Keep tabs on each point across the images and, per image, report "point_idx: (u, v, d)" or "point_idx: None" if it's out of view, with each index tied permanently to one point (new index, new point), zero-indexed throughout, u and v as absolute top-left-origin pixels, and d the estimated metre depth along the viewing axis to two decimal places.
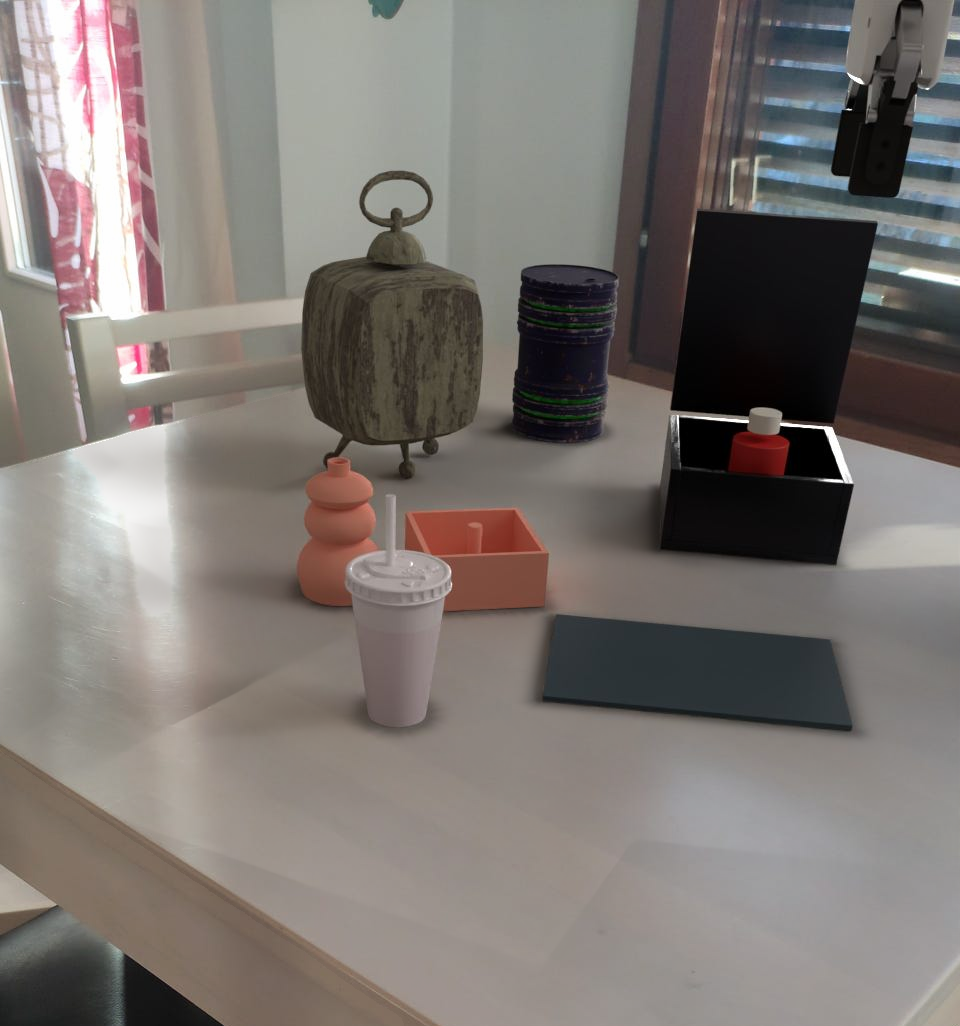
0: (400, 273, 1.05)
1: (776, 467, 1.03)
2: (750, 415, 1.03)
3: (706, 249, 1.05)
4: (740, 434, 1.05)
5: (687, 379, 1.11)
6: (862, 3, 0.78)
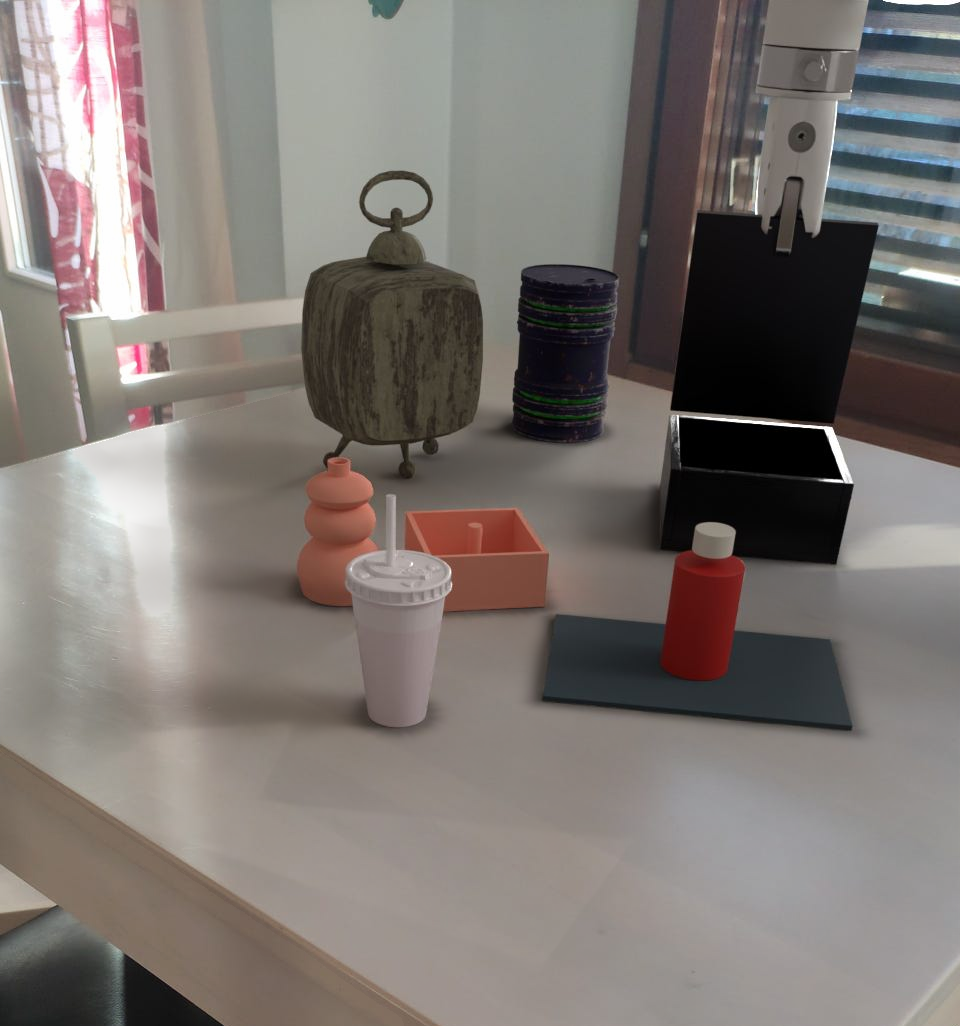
0: (400, 273, 1.05)
1: (728, 598, 0.82)
2: (695, 533, 0.81)
3: (706, 251, 1.04)
4: (684, 554, 0.83)
5: (687, 380, 1.11)
6: (761, 174, 1.03)
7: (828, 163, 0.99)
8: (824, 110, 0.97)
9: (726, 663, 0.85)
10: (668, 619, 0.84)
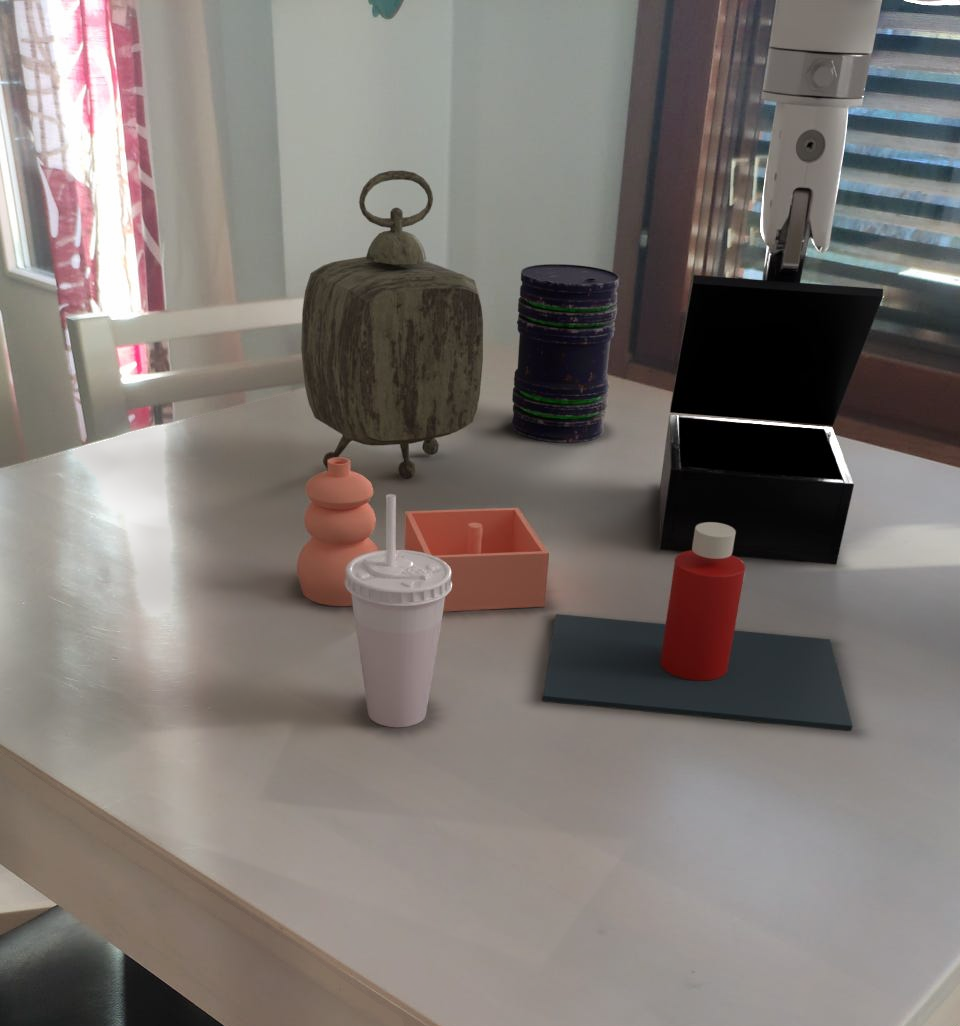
0: (400, 273, 1.05)
1: (728, 598, 0.82)
2: (695, 533, 0.81)
3: (702, 309, 1.00)
4: (684, 554, 0.83)
5: (686, 393, 1.11)
6: (767, 185, 0.97)
7: (838, 173, 0.93)
8: (834, 117, 0.92)
9: (726, 663, 0.85)
10: (668, 619, 0.84)
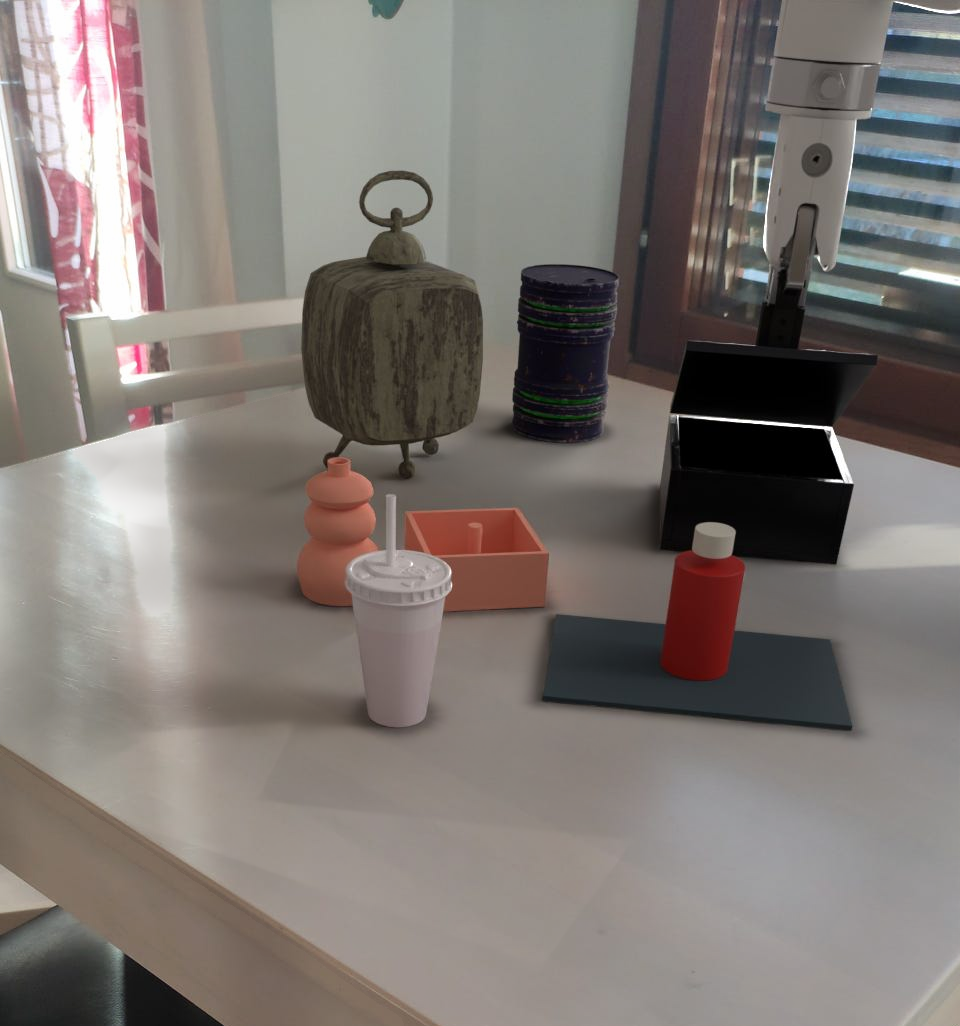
0: (400, 273, 1.05)
1: (728, 598, 0.82)
2: (695, 533, 0.81)
3: (697, 364, 1.00)
4: (684, 554, 0.83)
5: (685, 404, 1.11)
6: (771, 200, 0.93)
7: (846, 189, 0.89)
8: (842, 130, 0.87)
9: (726, 663, 0.85)
10: (668, 619, 0.84)
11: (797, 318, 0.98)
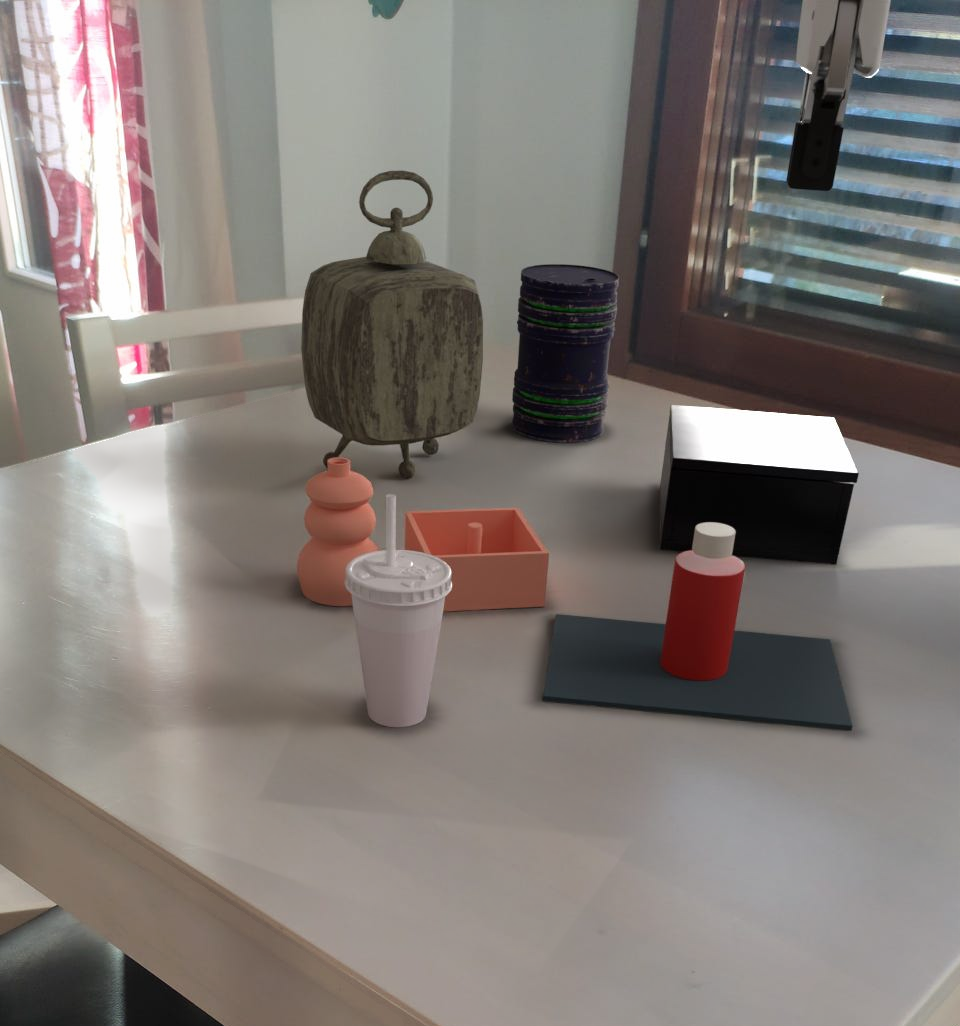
0: (400, 273, 1.05)
1: (728, 598, 0.82)
2: (695, 533, 0.81)
3: None
4: (684, 554, 0.83)
5: None
6: None
7: None
8: None
9: (726, 663, 0.85)
10: (668, 619, 0.84)
11: (834, 139, 0.89)
